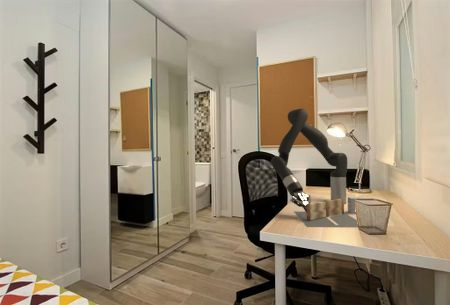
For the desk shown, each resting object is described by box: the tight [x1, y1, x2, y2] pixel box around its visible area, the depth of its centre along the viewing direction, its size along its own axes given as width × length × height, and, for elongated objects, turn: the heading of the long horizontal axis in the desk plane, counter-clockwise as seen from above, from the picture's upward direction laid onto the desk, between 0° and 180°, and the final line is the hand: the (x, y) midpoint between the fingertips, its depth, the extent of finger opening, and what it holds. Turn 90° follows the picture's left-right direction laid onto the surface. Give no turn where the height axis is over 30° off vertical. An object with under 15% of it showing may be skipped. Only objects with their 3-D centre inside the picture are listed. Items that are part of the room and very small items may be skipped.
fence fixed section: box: [323, 198, 345, 217], centre depth 119 cm, size 14×2×9 cm, turn 115°
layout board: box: [294, 211, 359, 228], centre depth 113 cm, size 26×27×1 cm
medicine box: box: [347, 196, 366, 215], centre depth 123 cm, size 8×4×9 cm, turn 84°
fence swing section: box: [306, 201, 326, 221], centre depth 113 cm, size 13×2×8 cm, turn 117°
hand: (309, 212), depth 112 cm, fingers closed
